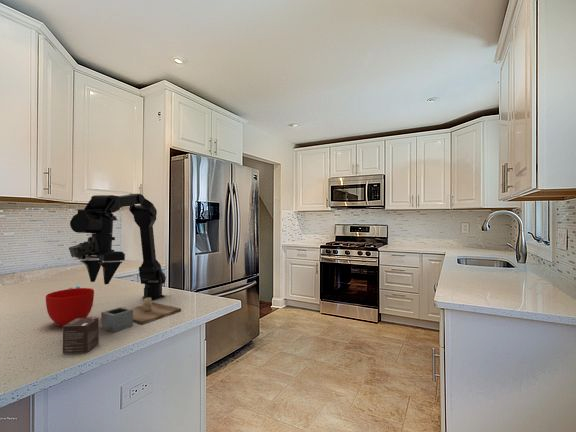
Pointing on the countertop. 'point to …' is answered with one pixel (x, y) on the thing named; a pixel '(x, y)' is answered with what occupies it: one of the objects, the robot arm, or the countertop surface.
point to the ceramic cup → (69, 304)
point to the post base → (152, 311)
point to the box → (80, 335)
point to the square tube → (116, 319)
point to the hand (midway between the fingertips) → (99, 283)
